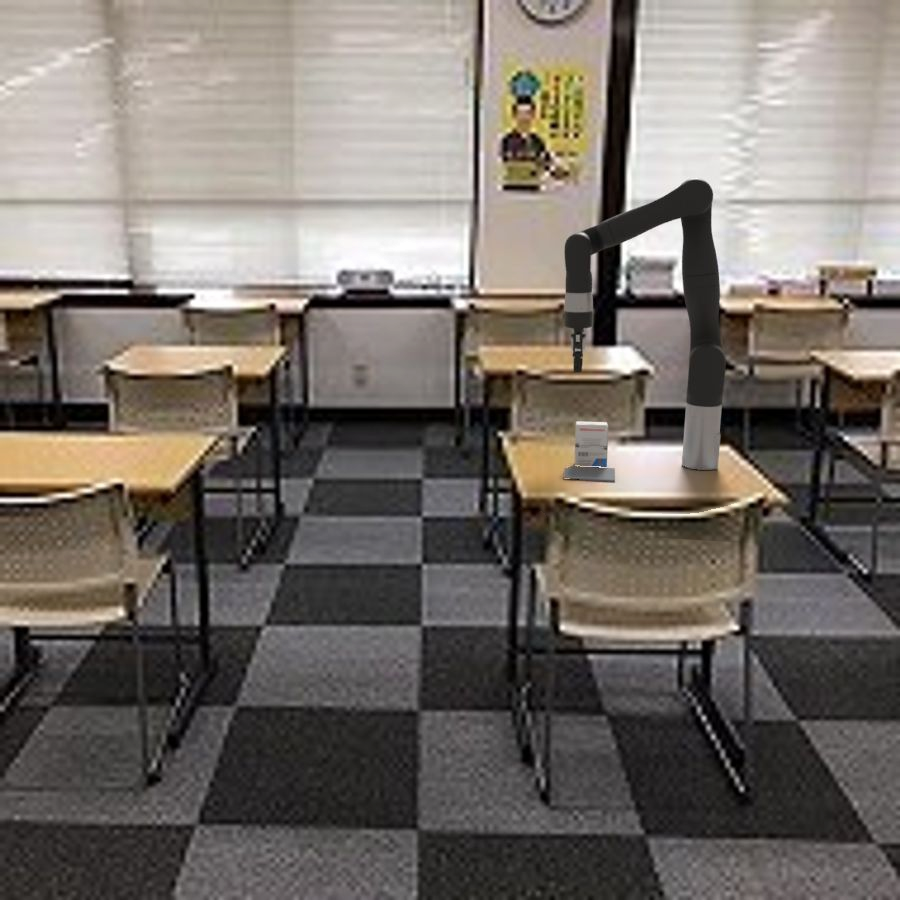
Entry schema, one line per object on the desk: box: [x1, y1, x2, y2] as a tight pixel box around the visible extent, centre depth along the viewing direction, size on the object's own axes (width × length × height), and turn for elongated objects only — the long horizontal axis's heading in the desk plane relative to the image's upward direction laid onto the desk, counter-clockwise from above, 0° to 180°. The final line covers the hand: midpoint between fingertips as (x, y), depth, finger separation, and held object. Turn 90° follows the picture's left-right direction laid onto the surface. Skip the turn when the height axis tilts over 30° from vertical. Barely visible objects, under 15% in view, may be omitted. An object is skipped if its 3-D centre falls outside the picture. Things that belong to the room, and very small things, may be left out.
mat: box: [562, 465, 616, 483], centre depth 271 cm, size 13×12×1 cm
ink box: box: [574, 420, 609, 468], centre depth 279 cm, size 9×5×12 cm, turn 84°
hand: (578, 369), depth 282 cm, fingers open, 8 cm apart
